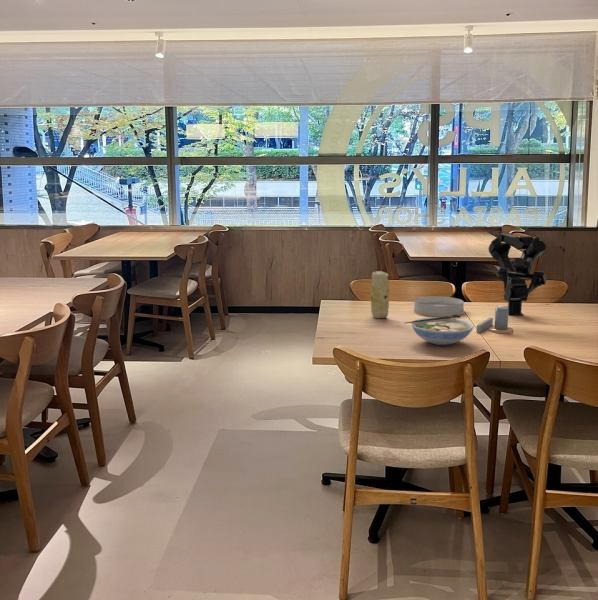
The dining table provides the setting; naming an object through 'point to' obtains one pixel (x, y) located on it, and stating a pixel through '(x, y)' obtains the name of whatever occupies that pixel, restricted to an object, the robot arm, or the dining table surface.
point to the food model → (379, 294)
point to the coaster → (500, 330)
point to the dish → (438, 306)
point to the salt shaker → (501, 317)
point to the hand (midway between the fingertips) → (516, 292)
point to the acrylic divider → (484, 325)
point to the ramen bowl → (442, 329)
